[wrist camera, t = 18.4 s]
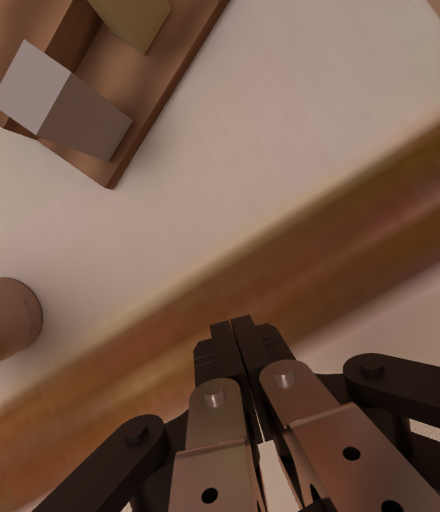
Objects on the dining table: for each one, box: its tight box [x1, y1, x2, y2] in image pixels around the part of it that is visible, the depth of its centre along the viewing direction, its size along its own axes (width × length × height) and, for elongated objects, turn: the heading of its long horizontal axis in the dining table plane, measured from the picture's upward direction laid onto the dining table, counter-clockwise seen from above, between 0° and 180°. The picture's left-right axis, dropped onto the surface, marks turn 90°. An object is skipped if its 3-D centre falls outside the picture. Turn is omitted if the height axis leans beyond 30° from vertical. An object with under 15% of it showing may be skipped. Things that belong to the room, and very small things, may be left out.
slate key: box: [0, 39, 133, 162], centre depth 30 cm, size 4×5×12 cm
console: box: [0, 0, 229, 189], centre depth 33 cm, size 15×32×7 cm, turn 146°
